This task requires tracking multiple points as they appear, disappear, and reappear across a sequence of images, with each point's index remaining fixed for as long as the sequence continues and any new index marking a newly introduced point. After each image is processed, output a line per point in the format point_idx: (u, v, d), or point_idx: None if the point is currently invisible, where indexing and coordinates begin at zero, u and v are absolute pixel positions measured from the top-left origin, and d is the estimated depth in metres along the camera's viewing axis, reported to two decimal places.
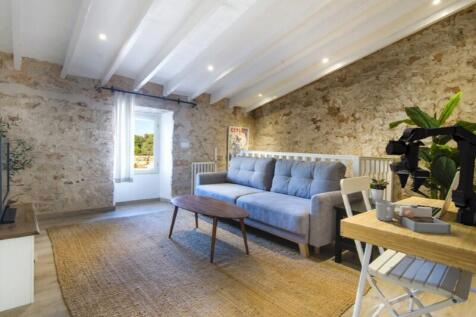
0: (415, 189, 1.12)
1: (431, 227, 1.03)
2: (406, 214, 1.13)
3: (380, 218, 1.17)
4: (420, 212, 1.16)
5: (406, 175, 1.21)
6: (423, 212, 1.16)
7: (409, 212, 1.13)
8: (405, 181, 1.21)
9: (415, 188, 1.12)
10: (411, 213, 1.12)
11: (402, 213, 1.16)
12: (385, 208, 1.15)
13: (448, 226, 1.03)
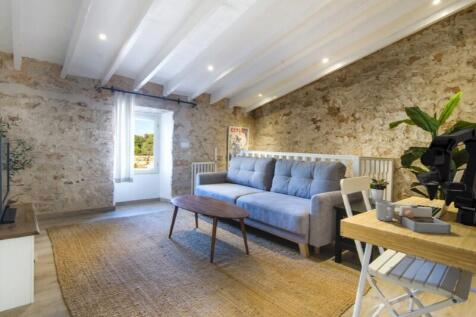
0: (447, 203, 1.03)
1: (431, 227, 1.03)
2: (406, 214, 1.13)
3: (380, 218, 1.17)
4: (420, 212, 1.16)
5: (435, 186, 1.12)
6: (423, 212, 1.16)
7: (409, 212, 1.13)
8: (434, 193, 1.12)
9: (448, 201, 1.03)
10: (411, 213, 1.12)
11: (402, 213, 1.16)
12: (385, 208, 1.15)
13: (448, 226, 1.03)
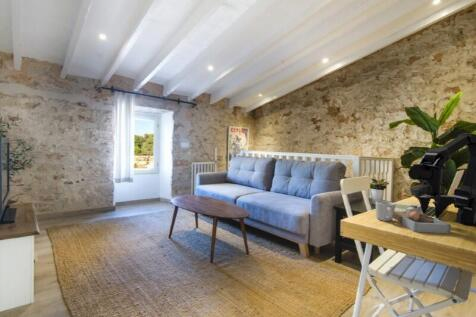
0: (437, 215, 1.08)
1: (431, 227, 1.03)
2: (411, 215, 1.11)
3: (380, 218, 1.17)
4: (418, 211, 1.17)
5: (427, 199, 1.17)
6: (419, 210, 1.18)
7: (415, 216, 1.10)
8: (426, 205, 1.17)
9: (437, 213, 1.08)
10: (416, 218, 1.10)
11: (409, 215, 1.13)
12: (385, 208, 1.15)
13: (448, 226, 1.03)
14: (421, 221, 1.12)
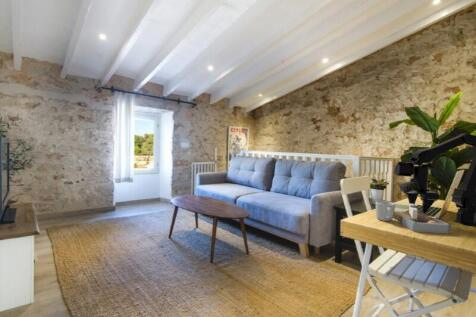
0: (424, 210, 1.16)
1: (431, 227, 1.03)
2: (429, 222, 1.06)
3: (380, 218, 1.17)
4: None
5: (415, 195, 1.26)
6: None
7: None
8: (414, 201, 1.26)
9: (425, 209, 1.16)
10: None
11: (416, 217, 1.12)
12: (385, 208, 1.15)
13: (448, 226, 1.03)
14: (421, 221, 1.12)
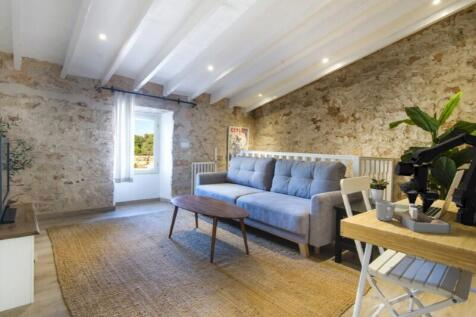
0: (424, 210, 1.16)
1: (431, 227, 1.03)
2: (436, 220, 1.08)
3: (380, 218, 1.17)
4: None
5: (415, 195, 1.26)
6: None
7: None
8: (414, 200, 1.26)
9: (424, 208, 1.16)
10: None
11: (416, 217, 1.12)
12: (385, 208, 1.15)
13: (448, 226, 1.03)
14: (421, 221, 1.12)
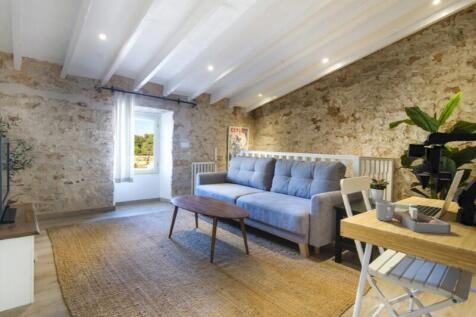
0: (437, 190, 1.18)
1: (431, 227, 1.03)
2: (432, 220, 1.08)
3: (380, 218, 1.17)
4: None
5: (427, 177, 1.28)
6: None
7: None
8: (426, 182, 1.28)
9: (438, 189, 1.18)
10: None
11: (416, 217, 1.12)
12: (385, 208, 1.15)
13: (448, 226, 1.03)
14: (421, 221, 1.12)
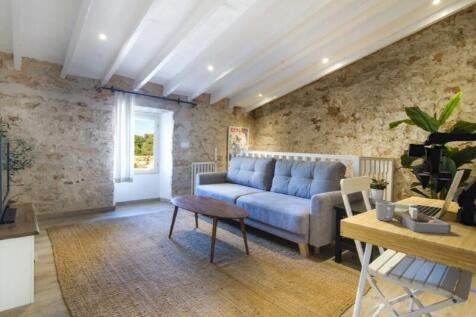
0: (437, 190, 1.18)
1: (431, 227, 1.03)
2: (430, 220, 1.08)
3: (380, 218, 1.17)
4: None
5: (427, 177, 1.28)
6: None
7: None
8: (426, 182, 1.28)
9: (438, 189, 1.18)
10: None
11: (416, 217, 1.12)
12: (385, 208, 1.15)
13: (448, 226, 1.03)
14: (421, 221, 1.12)
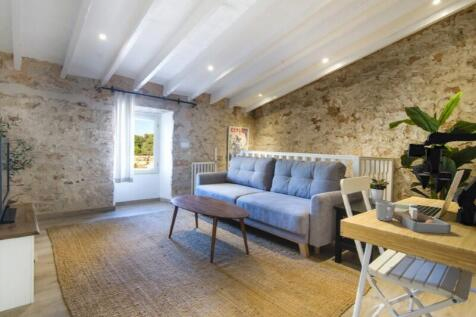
0: (437, 190, 1.18)
1: (431, 227, 1.03)
2: (426, 221, 1.08)
3: (380, 218, 1.17)
4: None
5: (427, 177, 1.28)
6: None
7: None
8: (426, 182, 1.28)
9: (438, 189, 1.18)
10: None
11: (416, 217, 1.12)
12: (385, 208, 1.15)
13: (448, 226, 1.03)
14: (421, 221, 1.12)
